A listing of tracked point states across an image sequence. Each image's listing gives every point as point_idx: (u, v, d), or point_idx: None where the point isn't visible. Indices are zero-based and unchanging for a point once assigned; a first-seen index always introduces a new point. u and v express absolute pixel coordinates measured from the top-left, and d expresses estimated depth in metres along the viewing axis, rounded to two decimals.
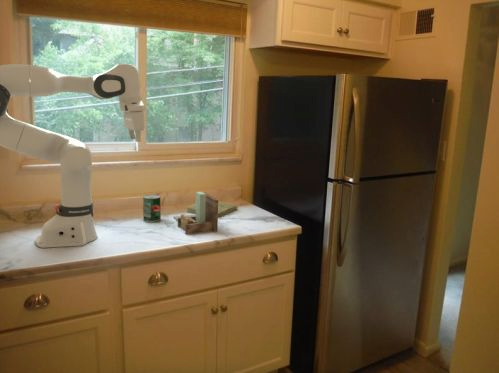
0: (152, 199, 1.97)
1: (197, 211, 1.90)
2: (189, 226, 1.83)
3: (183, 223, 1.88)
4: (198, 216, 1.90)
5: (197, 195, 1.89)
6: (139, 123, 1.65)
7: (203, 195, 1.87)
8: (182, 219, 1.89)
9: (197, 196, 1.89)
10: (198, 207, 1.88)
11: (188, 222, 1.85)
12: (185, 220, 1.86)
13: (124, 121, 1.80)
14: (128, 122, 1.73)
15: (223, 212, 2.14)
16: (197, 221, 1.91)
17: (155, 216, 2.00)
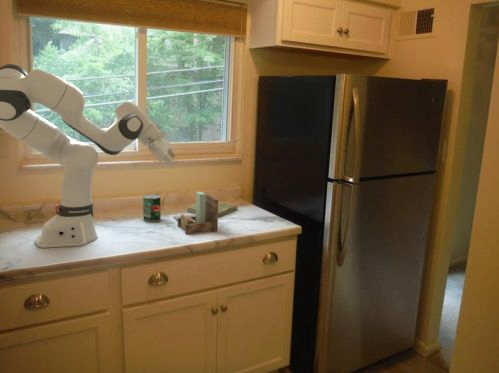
0: (152, 199, 1.97)
1: (197, 211, 1.90)
2: (189, 226, 1.83)
3: (183, 223, 1.88)
4: (198, 216, 1.90)
5: (197, 195, 1.89)
6: None
7: (203, 195, 1.87)
8: (182, 219, 1.89)
9: (197, 196, 1.89)
10: (198, 207, 1.88)
11: (188, 222, 1.85)
12: (185, 220, 1.86)
13: (163, 150, 1.67)
14: (164, 145, 1.74)
15: (223, 212, 2.14)
16: (197, 221, 1.91)
17: (155, 216, 2.00)
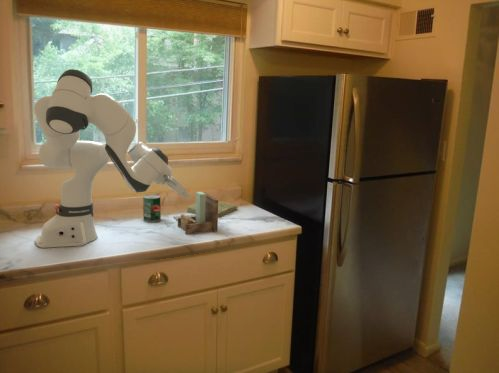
0: (152, 199, 1.97)
1: (197, 211, 1.90)
2: (189, 226, 1.83)
3: (183, 223, 1.88)
4: (198, 216, 1.90)
5: (197, 195, 1.89)
6: None
7: (203, 195, 1.87)
8: (182, 219, 1.89)
9: (197, 196, 1.89)
10: (198, 207, 1.88)
11: (188, 222, 1.85)
12: (185, 220, 1.86)
13: None
14: None
15: (223, 212, 2.14)
16: (197, 221, 1.91)
17: (155, 216, 2.00)
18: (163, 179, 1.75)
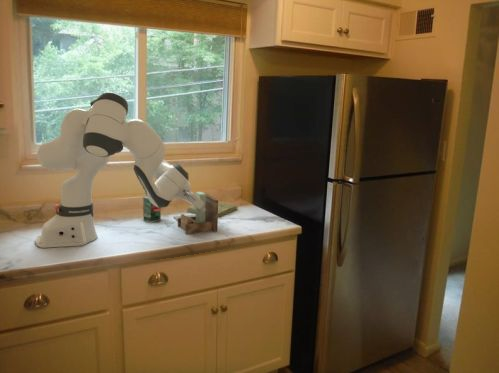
0: None
1: (197, 211, 1.90)
2: (189, 226, 1.83)
3: (183, 223, 1.88)
4: (198, 216, 1.90)
5: (197, 195, 1.89)
6: None
7: (203, 195, 1.87)
8: (182, 219, 1.89)
9: None
10: None
11: (188, 222, 1.85)
12: (185, 220, 1.86)
13: (200, 199, 1.80)
14: None
15: (223, 212, 2.14)
16: (197, 221, 1.91)
17: (155, 216, 2.00)
18: (182, 194, 1.81)
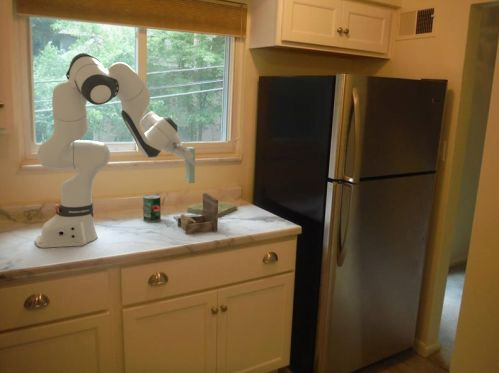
0: (152, 199, 1.97)
1: (187, 165, 1.98)
2: (189, 226, 1.83)
3: (183, 223, 1.88)
4: (188, 170, 1.98)
5: None
6: None
7: (193, 149, 1.95)
8: (182, 219, 1.89)
9: None
10: None
11: (188, 222, 1.85)
12: (185, 220, 1.86)
13: None
14: None
15: (223, 212, 2.14)
16: (187, 175, 1.99)
17: (155, 216, 2.00)
18: (172, 147, 1.89)
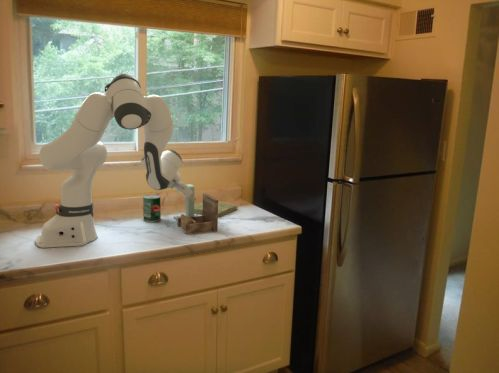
0: (152, 199, 1.97)
1: (187, 202, 2.02)
2: (189, 226, 1.83)
3: (183, 223, 1.88)
4: (187, 207, 2.02)
5: None
6: None
7: (192, 187, 1.99)
8: (182, 219, 1.89)
9: None
10: (188, 198, 2.00)
11: (188, 222, 1.85)
12: (185, 220, 1.86)
13: None
14: None
15: (223, 212, 2.14)
16: (187, 212, 2.03)
17: (155, 216, 2.00)
18: (172, 183, 1.93)
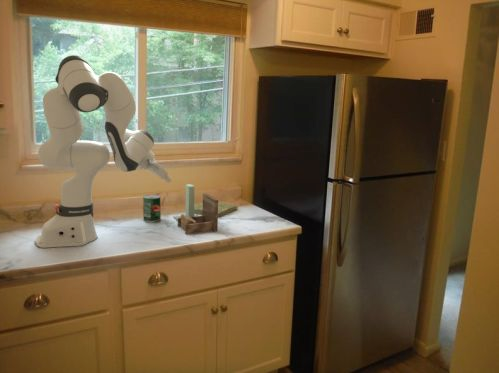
0: (152, 199, 1.97)
1: (187, 202, 2.02)
2: (189, 226, 1.83)
3: (183, 223, 1.88)
4: (187, 207, 2.02)
5: (186, 187, 2.01)
6: None
7: (192, 187, 1.99)
8: (182, 219, 1.89)
9: (186, 188, 2.01)
10: (188, 198, 2.00)
11: (188, 222, 1.85)
12: (185, 220, 1.86)
13: None
14: None
15: (223, 212, 2.14)
16: (187, 212, 2.03)
17: (155, 216, 2.00)
18: (146, 163, 1.86)
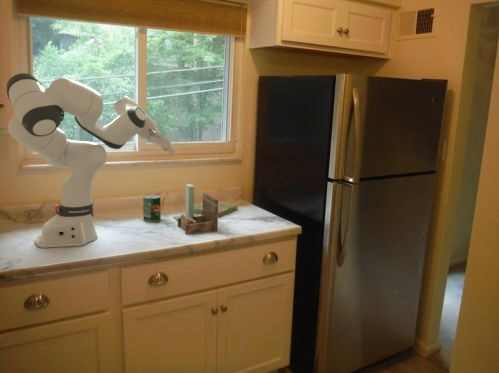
0: (152, 199, 1.97)
1: (187, 202, 2.02)
2: (189, 226, 1.83)
3: (183, 223, 1.88)
4: (187, 207, 2.02)
5: (186, 187, 2.01)
6: None
7: (192, 187, 1.99)
8: (182, 219, 1.89)
9: (186, 188, 2.01)
10: (188, 198, 2.00)
11: (188, 222, 1.85)
12: (185, 220, 1.86)
13: None
14: None
15: (223, 212, 2.14)
16: (187, 212, 2.03)
17: (155, 216, 2.00)
18: (148, 133, 1.77)
